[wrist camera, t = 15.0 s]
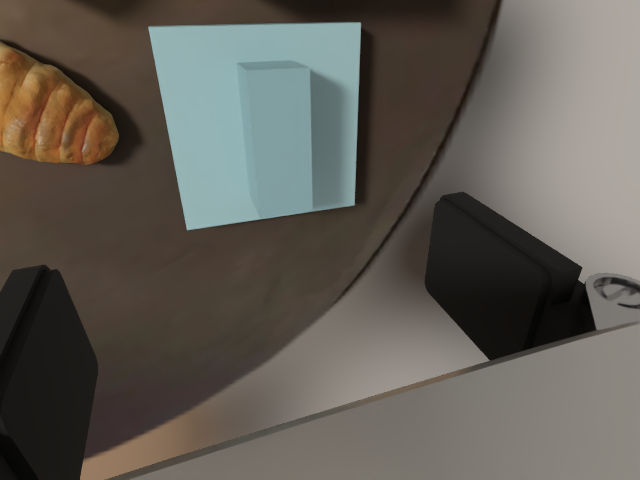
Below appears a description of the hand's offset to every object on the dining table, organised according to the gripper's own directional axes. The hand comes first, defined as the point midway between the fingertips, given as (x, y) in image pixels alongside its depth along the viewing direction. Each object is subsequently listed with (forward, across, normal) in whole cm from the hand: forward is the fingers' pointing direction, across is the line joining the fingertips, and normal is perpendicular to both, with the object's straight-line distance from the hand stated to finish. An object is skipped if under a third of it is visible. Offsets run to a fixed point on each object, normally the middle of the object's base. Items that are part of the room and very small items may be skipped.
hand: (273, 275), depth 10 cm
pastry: (+25, +11, 0) cm, 28 cm away
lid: (+25, -5, +3) cm, 25 cm away
